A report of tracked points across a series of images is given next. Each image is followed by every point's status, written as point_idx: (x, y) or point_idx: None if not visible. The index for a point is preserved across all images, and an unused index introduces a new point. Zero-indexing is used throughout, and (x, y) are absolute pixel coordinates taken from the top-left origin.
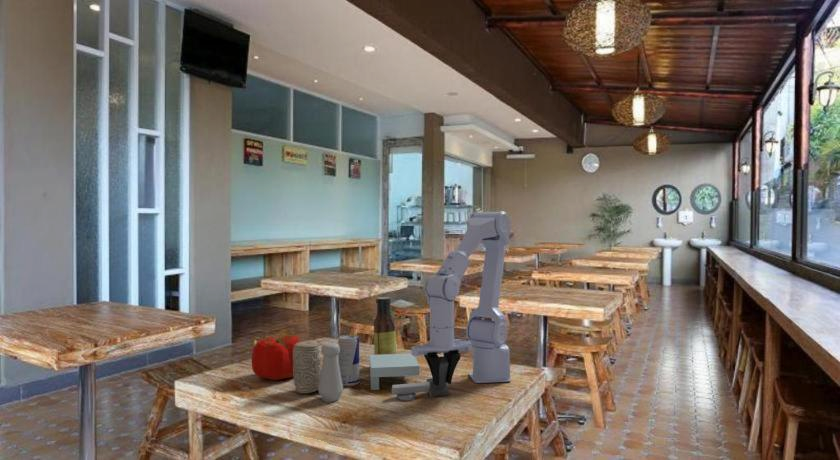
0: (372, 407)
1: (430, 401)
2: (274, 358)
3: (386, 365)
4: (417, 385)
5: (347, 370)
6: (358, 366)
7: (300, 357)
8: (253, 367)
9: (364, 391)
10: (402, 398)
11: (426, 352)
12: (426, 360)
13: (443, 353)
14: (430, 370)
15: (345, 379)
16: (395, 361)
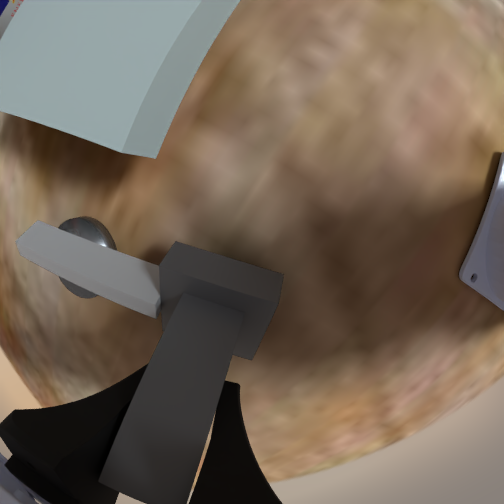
0: (8, 268)
1: (153, 343)
2: None
3: (9, 78)
4: (97, 290)
5: None
6: (2, 29)
7: None
8: None
9: (22, 119)
10: (64, 279)
11: (13, 481)
12: (47, 409)
13: (189, 502)
14: (106, 390)
15: None
16: (76, 7)
